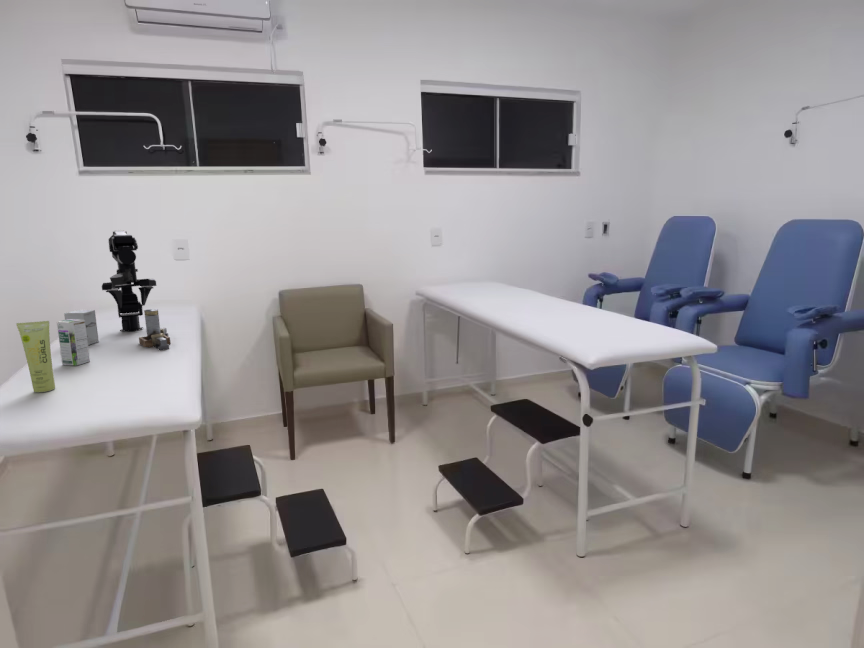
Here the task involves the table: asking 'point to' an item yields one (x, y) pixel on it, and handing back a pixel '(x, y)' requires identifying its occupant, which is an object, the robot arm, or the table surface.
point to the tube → (38, 354)
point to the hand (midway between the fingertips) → (132, 306)
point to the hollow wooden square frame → (150, 341)
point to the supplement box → (86, 323)
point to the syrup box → (73, 342)
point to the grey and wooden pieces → (160, 340)
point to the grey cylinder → (152, 322)
